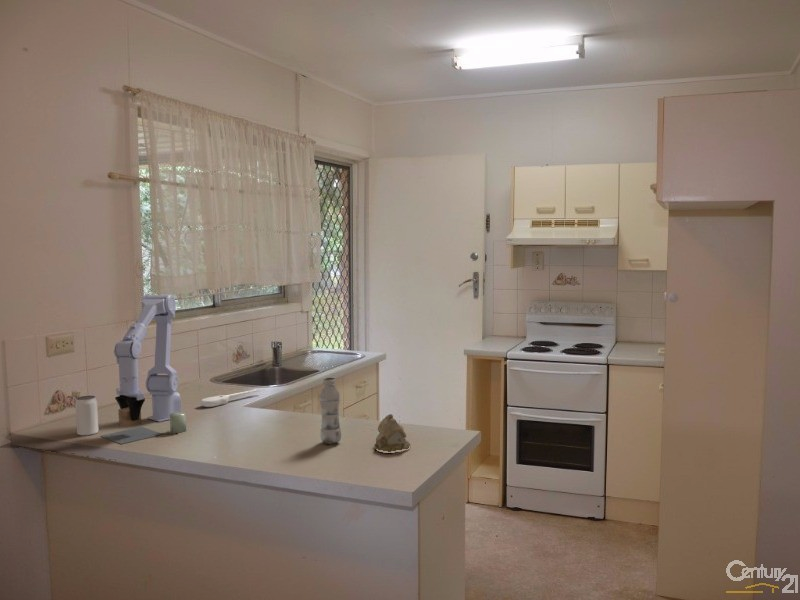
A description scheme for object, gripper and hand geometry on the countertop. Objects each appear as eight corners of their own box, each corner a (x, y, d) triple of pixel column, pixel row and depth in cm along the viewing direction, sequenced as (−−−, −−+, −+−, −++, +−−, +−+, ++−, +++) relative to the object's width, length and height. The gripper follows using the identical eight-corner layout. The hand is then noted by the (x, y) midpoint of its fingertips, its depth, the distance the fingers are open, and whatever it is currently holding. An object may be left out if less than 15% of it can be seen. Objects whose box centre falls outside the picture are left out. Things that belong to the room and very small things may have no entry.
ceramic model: (415, 452, 201) (415, 418, 201) (378, 456, 198) (377, 422, 198) (402, 439, 215) (402, 407, 214) (367, 442, 212) (367, 410, 211)
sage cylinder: (181, 428, 230) (180, 411, 230) (189, 431, 227) (188, 413, 226) (167, 432, 226) (166, 414, 226) (175, 434, 223) (174, 416, 223)
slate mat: (141, 427, 233) (141, 426, 233) (162, 434, 224) (162, 433, 224) (100, 436, 222) (100, 435, 222) (121, 444, 213) (121, 443, 213)
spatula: (256, 394, 281) (256, 387, 281) (265, 396, 278) (265, 389, 277) (197, 406, 260) (197, 399, 260) (206, 408, 256) (206, 401, 256)
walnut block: (133, 421, 226) (133, 406, 225) (141, 423, 223) (140, 408, 222) (119, 424, 222) (118, 409, 222) (126, 427, 219) (125, 411, 218)
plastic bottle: (325, 447, 207) (323, 382, 205) (317, 441, 213) (315, 378, 211) (344, 444, 210) (343, 379, 208) (336, 438, 216) (335, 376, 214)
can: (90, 436, 222) (88, 400, 221) (72, 435, 224) (70, 399, 223) (102, 431, 229) (100, 395, 228) (85, 430, 230) (83, 395, 229)
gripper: (106, 376, 223) (108, 417, 224) (127, 382, 213) (130, 424, 215) (127, 373, 228) (129, 413, 230) (149, 378, 219) (151, 420, 220)
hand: (130, 418), depth 222 cm, fingers closed on walnut block, 5 cm apart
